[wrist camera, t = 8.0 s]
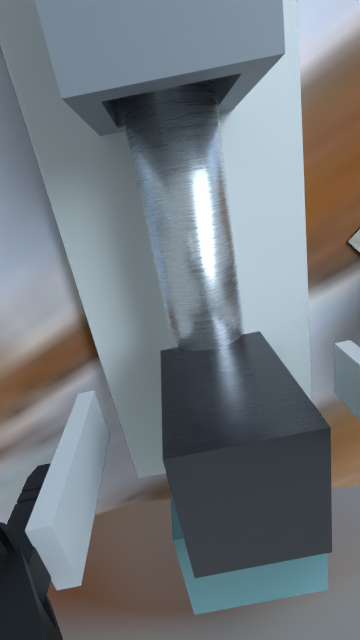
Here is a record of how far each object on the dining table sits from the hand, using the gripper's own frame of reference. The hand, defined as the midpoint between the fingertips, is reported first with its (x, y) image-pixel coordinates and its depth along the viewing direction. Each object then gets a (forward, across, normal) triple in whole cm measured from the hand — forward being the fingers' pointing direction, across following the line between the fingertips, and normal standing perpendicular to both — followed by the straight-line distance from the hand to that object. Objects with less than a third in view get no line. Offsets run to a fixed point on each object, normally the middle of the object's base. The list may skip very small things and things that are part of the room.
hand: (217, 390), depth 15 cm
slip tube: (+2, 0, +4) cm, 4 cm away
